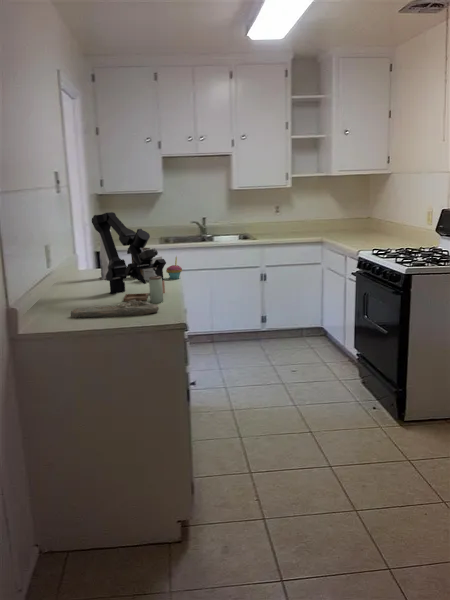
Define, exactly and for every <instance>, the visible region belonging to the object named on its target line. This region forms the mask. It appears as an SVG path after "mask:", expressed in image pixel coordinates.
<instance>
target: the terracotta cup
mask: <svg viewBox="0 0 450 600" xmlns="http://www.w3.org/2000/svg"><path fill="white" fill-rule="evenodd" d="M165 285H166V284H165V280H163V281H162V288H163V294H165V293H166V286H165Z"/></svg>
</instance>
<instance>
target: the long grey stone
mask: <svg viewBox="0 0 450 600" xmlns="http://www.w3.org/2000/svg"><path fill="white" fill-rule="evenodd" d="M158 311H159V306H158V304H154V303H150V302H148V301H136V300H135V299H134V300H131V301H129V302H123V303H120V304H117V305H113V306H109V305H108V306H100V307H85V308H82V307H77V308H75V309H73V310H71V311H70V317H71V319H78V318H84V319H85V318H98V319H99V318H112V317H113V318H114V316H115V317H124V316H125V317H131V316H145V315H148V314H152V313H157V312H158Z"/></svg>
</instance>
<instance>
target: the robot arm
mask: <svg viewBox="0 0 450 600" xmlns="http://www.w3.org/2000/svg"><path fill="white" fill-rule="evenodd" d="M91 223H92V226H93V228H94V230H95V231H96V232H97V233H98V232H99V233H100V235H101V238H102V241H103V244H104V247H105V250H106V253H107V256H108V259H109V264H108V272H107V274H106V280H105V281H108V282H109V287H110V288H109V291H110V292H109V294H113V295H114V294H120V293H124V292H126V282H125V280H127V278H128V277H130V278H133V279H135V280H137V281H139V282H140V283H142V284H144V285H146V284H147V281H146V280H145V278H144V277H143V276H142V274H141V272H140V270H145V269H151V268H153V270H154V271H155V274H156V275H157V276H161V278H162V281H163V280H164V271H163V272H162V269H163V270H164V267H165V266H166V265H167V262H166V260H165V259H164V258H162V259H157V260H156V261H155V263H153V264H151V263H150V262H152V258H153V257H155V256H159V252H158V249H156V248H155V247H154V248H150V250H146V251H143V249H142V248H146V245H147V244H148V242H149V240H150V237H151V236H150V234H149V232H148V231H146V230H143V229H142V228H137V230H136V231H134V230H133V229H131V228H128V227H126V226H125V224H124V222H122V221H121V220H120V218H118V216H117V214H116V213H115V212H113V211H111V212H109V211H108V212H104V213H102V214H94V215H93V216H92V218H91ZM111 228H112V229H113V231H114V232H116V235H118V240H119V242H120V243H121V244H122V246H124V247H125V246H128V248H127V251H126V254H127V255H132V257H133V259H134V260H133V262H134V263H132V262H131V263H128V265H126V260H125V259H121V258H120V256H119V253H118V250H117V247H116V245H115V242H114V239H113V236H112V231H111V232H110V230H111ZM132 257H131V258H132ZM164 281H165V280H164Z"/></svg>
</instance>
